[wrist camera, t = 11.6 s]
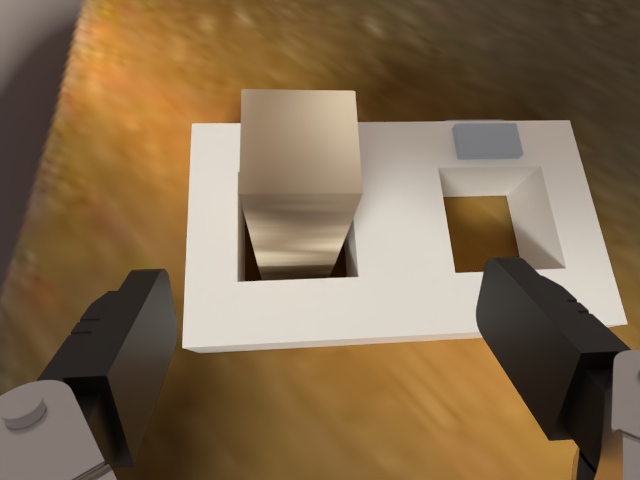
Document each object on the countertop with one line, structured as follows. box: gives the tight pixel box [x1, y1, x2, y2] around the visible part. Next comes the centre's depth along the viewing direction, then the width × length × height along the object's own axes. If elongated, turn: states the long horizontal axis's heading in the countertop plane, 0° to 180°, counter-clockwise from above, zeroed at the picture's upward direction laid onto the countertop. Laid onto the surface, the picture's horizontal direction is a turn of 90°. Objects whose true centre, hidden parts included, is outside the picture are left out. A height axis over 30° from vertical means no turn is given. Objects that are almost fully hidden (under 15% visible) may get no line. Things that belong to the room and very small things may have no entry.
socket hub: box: [182, 120, 627, 353], centre depth 24 cm, size 22×12×4 cm, turn 93°
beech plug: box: [239, 89, 363, 280], centre depth 20 cm, size 4×4×12 cm
